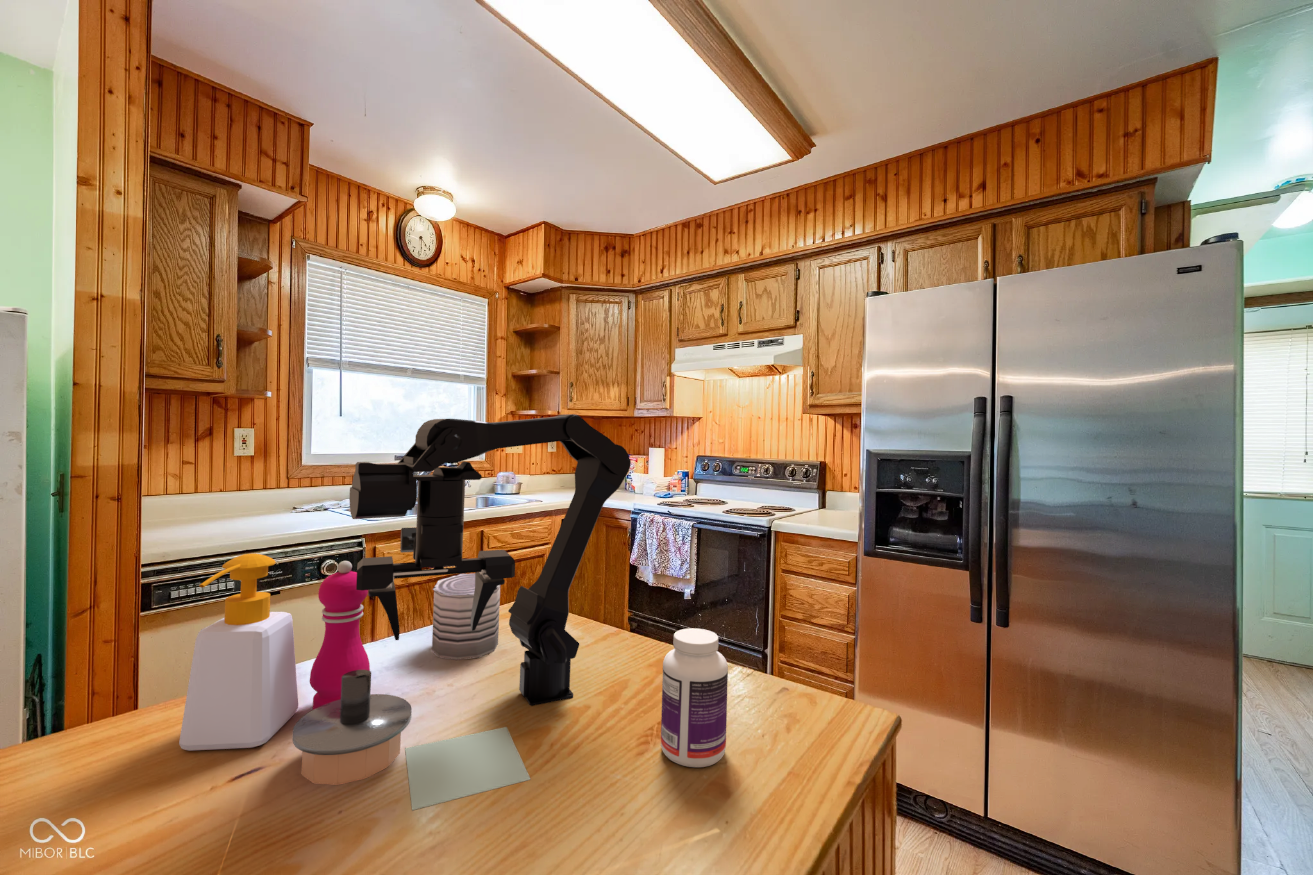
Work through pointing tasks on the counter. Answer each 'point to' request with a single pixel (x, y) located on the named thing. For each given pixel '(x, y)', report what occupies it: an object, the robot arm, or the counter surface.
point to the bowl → (349, 763)
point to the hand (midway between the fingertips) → (436, 634)
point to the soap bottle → (241, 668)
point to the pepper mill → (338, 635)
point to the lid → (352, 719)
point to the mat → (463, 767)
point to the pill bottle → (694, 699)
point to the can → (463, 620)
